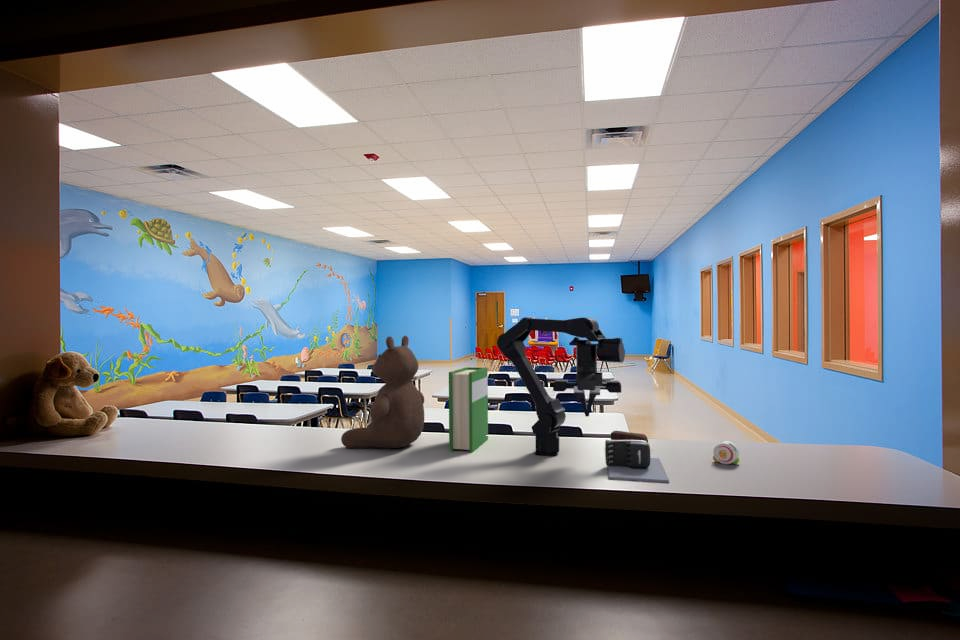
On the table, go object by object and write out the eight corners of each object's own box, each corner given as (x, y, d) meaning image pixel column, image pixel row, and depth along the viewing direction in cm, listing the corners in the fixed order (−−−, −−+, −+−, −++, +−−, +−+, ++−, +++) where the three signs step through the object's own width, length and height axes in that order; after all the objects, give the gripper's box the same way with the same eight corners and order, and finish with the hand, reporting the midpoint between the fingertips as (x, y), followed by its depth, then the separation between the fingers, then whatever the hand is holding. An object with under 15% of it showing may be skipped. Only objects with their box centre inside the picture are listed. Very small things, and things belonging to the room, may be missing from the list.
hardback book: (472, 452, 150) (471, 372, 150) (449, 451, 152) (448, 372, 152) (488, 439, 166) (487, 367, 167) (466, 438, 169) (466, 367, 169)
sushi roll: (736, 467, 132) (736, 445, 132) (711, 463, 136) (710, 441, 136) (740, 463, 136) (740, 442, 136) (715, 459, 140) (715, 438, 140)
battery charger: (605, 442, 130) (651, 444, 128) (604, 438, 134) (649, 439, 131) (605, 468, 130) (651, 470, 128) (605, 463, 134) (649, 465, 132)
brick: (610, 447, 155) (610, 432, 155) (613, 444, 158) (613, 430, 158) (645, 452, 149) (645, 436, 149) (648, 449, 153) (648, 433, 153)
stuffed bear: (380, 433, 177) (377, 335, 178) (437, 437, 169) (435, 334, 170) (326, 454, 150) (324, 338, 151) (392, 459, 142) (389, 336, 143)
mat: (609, 479, 123) (609, 476, 123) (607, 457, 142) (607, 455, 142) (669, 482, 120) (669, 480, 120) (659, 460, 139) (659, 458, 139)
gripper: (551, 363, 136) (551, 420, 136) (622, 364, 132) (622, 423, 132) (554, 360, 147) (554, 413, 147) (620, 361, 143) (620, 415, 143)
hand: (587, 416), depth 142 cm, fingers closed
